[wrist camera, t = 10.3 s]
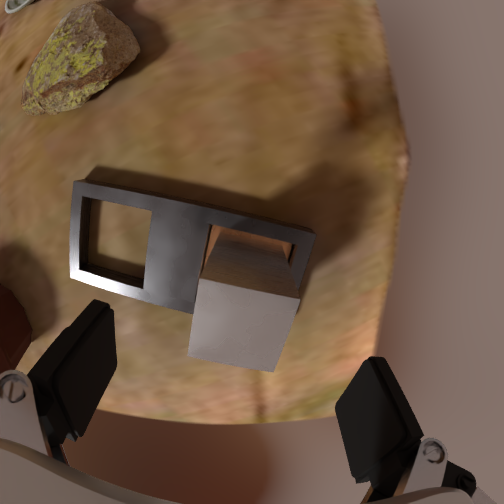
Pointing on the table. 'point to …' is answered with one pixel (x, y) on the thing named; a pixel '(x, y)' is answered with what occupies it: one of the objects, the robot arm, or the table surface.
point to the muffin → (12, 331)
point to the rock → (78, 60)
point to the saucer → (16, 5)
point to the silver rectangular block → (243, 304)
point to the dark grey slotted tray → (174, 242)
